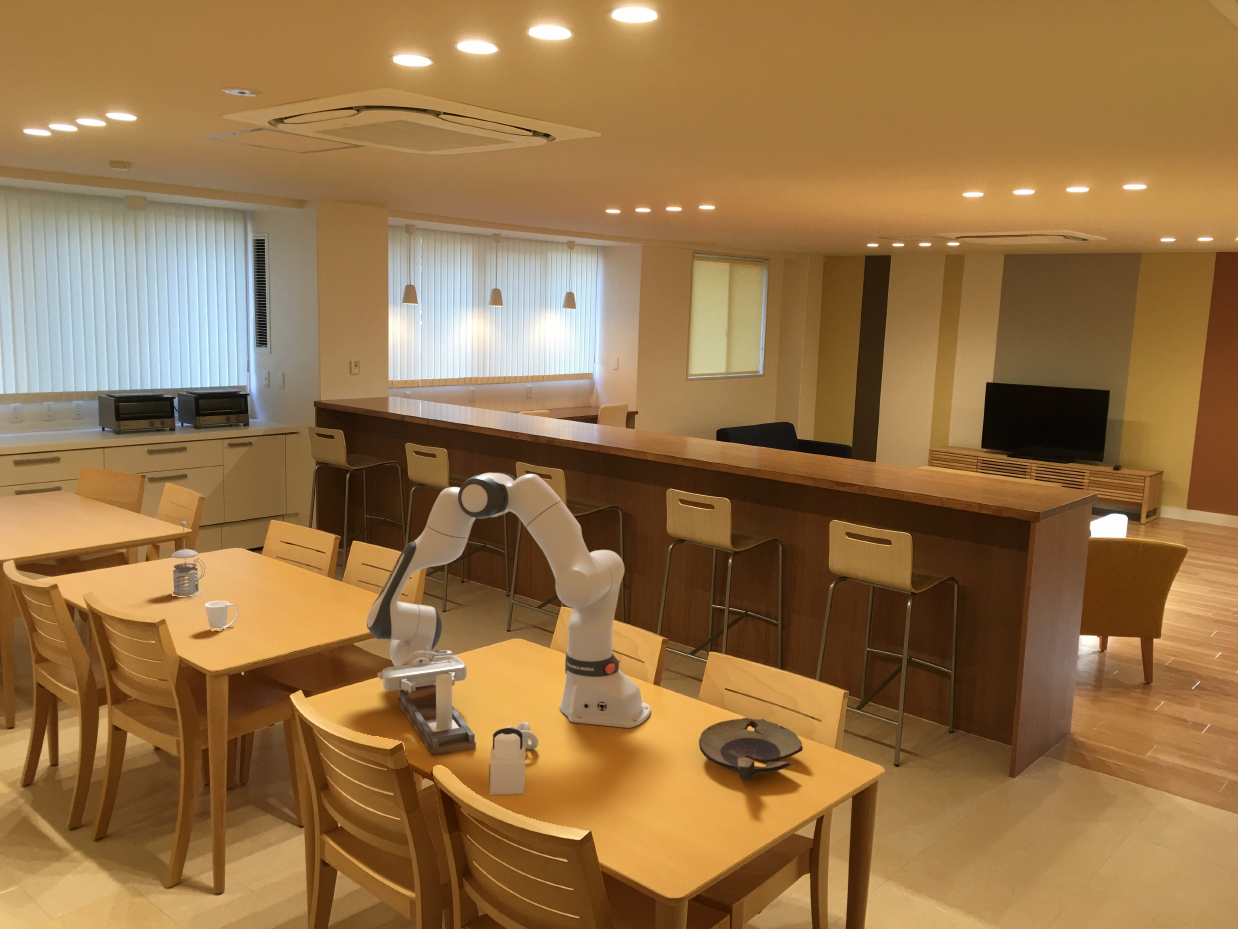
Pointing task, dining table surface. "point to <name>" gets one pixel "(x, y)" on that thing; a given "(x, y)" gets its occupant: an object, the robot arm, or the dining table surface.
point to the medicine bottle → (507, 763)
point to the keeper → (443, 704)
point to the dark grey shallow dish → (749, 746)
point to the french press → (186, 573)
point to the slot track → (423, 712)
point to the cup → (219, 614)
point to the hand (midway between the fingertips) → (432, 686)
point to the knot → (526, 736)
